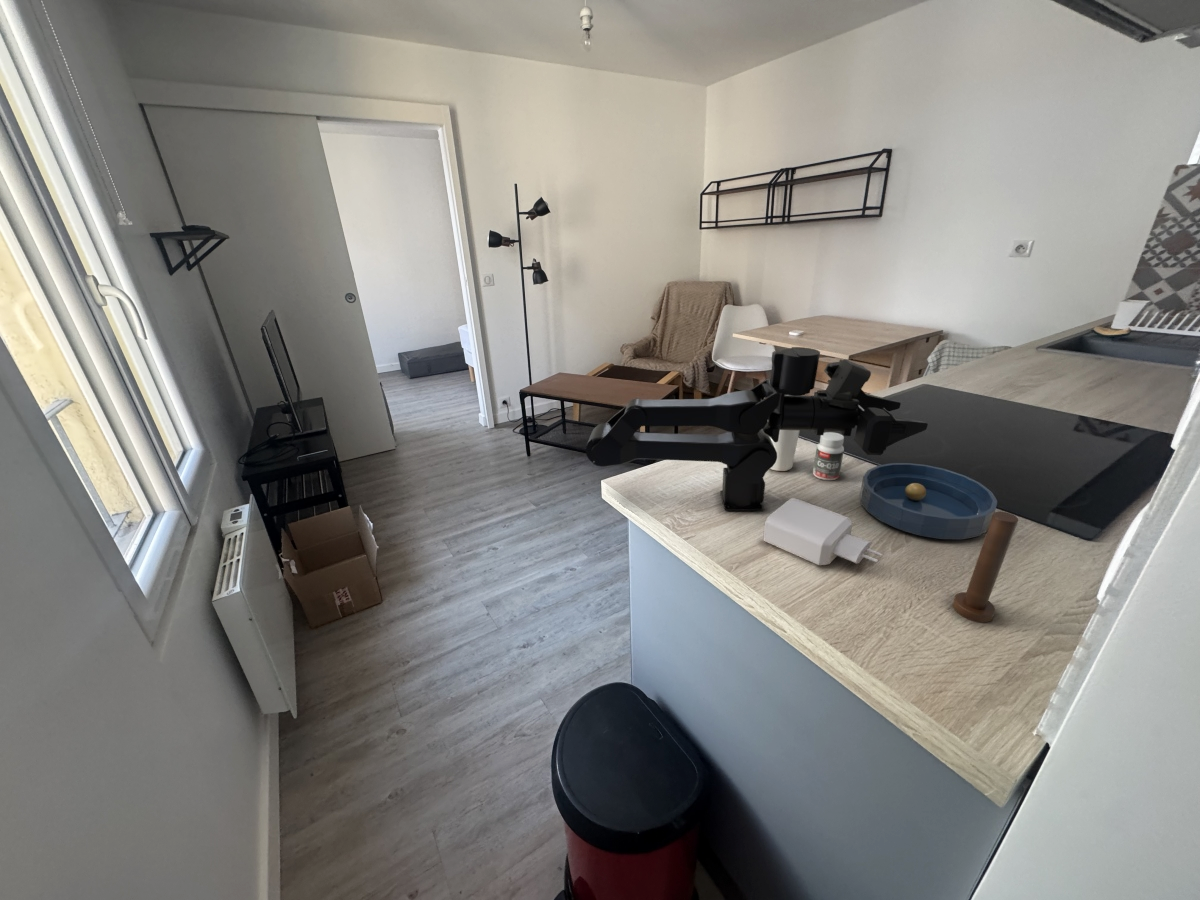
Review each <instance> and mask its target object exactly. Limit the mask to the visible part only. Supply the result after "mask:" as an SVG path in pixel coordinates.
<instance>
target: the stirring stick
mask: <svg viewBox="0 0 1200 900" xmlns="http://www.w3.org/2000/svg"><path fill="white" fill-rule="evenodd" d="M1018 522H1019V518H1018V517H1017V515H1015V514H1012V513H1010V512H1006V511H1000V510H999V511H995V512H994V513H993V516H992V519H991V522H990V525H989V528H988V530H987V531H986V534H985V537H984V539H983V543H982V544H981V549H980V552H979V554H978V557H977V560H976V563H975V566H974V569H973V572H972V574H971V577H970V581H969V583H968V586H967V589H966V591H964V592H958V593H957V594H955V596H954V598H953V602H952V607H953V609H954V610H955V612H956V613H957V614H959V615H960V616H961V617H963V618H964V619H967V620H969V621H972V622H976V623H988V622H990V621H992V619H993V617H994V615H995V613H996V608H995V606H994V604H993V603H992V602H991V601H990V598H991V594H992V592H993V589H994V587H995V584H996V581H997V579H998V576H999V573H1000V571H1001V568H1002V565H1003V562H1004V560H1005V557H1006V554H1007V551H1008V549H1009V547H1010V544H1011V541H1012V538H1013V535H1014V533H1015V531H1016V528H1017V526H1018Z"/></svg>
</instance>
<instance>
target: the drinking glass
mask: <svg viewBox="0 0 1200 900" xmlns="http://www.w3.org/2000/svg"><path fill="white" fill-rule="evenodd" d="M801 396H803V395H801ZM800 432H801V430H780V431H779V439H778V442H774V441H773V440H772V438H771V437H770V436H769V437H770V439H771V441H772V443H773V445H774V448H775V450H776V452H777V459H776V462H775V464H774V465H773V466H772V467H771V468H770V469H769V470H772V471H775V472H776V471H777V472H786V471H790V470H791V469H792V468H793V466H794V460H795V454H796V449H797V445H798V440H799V436H800Z"/></svg>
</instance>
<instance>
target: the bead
mask: <svg viewBox="0 0 1200 900" xmlns="http://www.w3.org/2000/svg"><path fill="white" fill-rule="evenodd" d="M905 494H906V496H907V497H908V498H909V499H911V500H915V501H918V500H921V499H923V498H924V497H925V495H926V489H925V487H924V486H923V485H921V484H918V483H912V484H909V485H908V486H907V487H906V489H905Z"/></svg>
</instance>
